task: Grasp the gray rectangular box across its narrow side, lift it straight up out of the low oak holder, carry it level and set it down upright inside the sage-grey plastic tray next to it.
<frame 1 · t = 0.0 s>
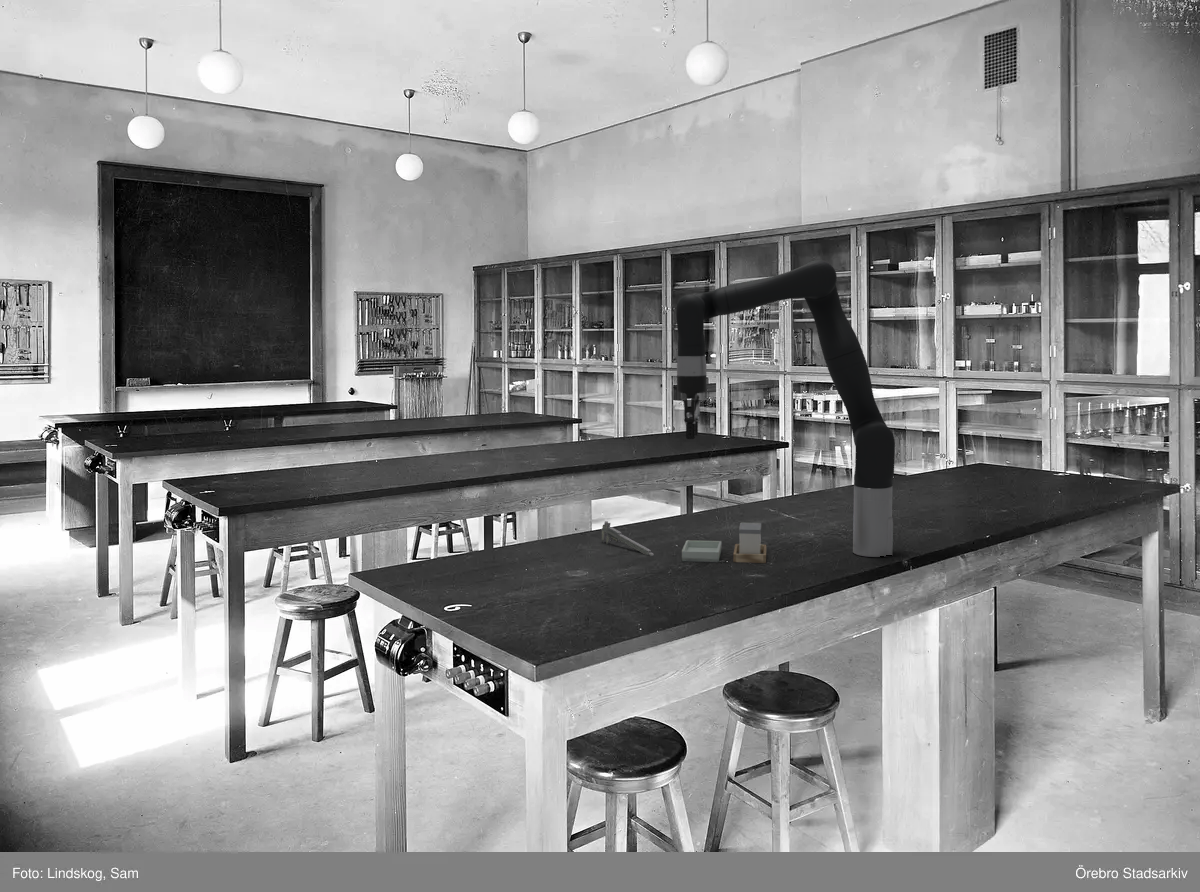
hand: (692, 437, 235), 29 cm above the table, fingers open, 8 cm apart
tray: (702, 555, 231), on the table
holder: (750, 557, 229), on the table
gray rectangular box: (750, 541, 228), in the holder
caliper: (627, 550, 240), on the table
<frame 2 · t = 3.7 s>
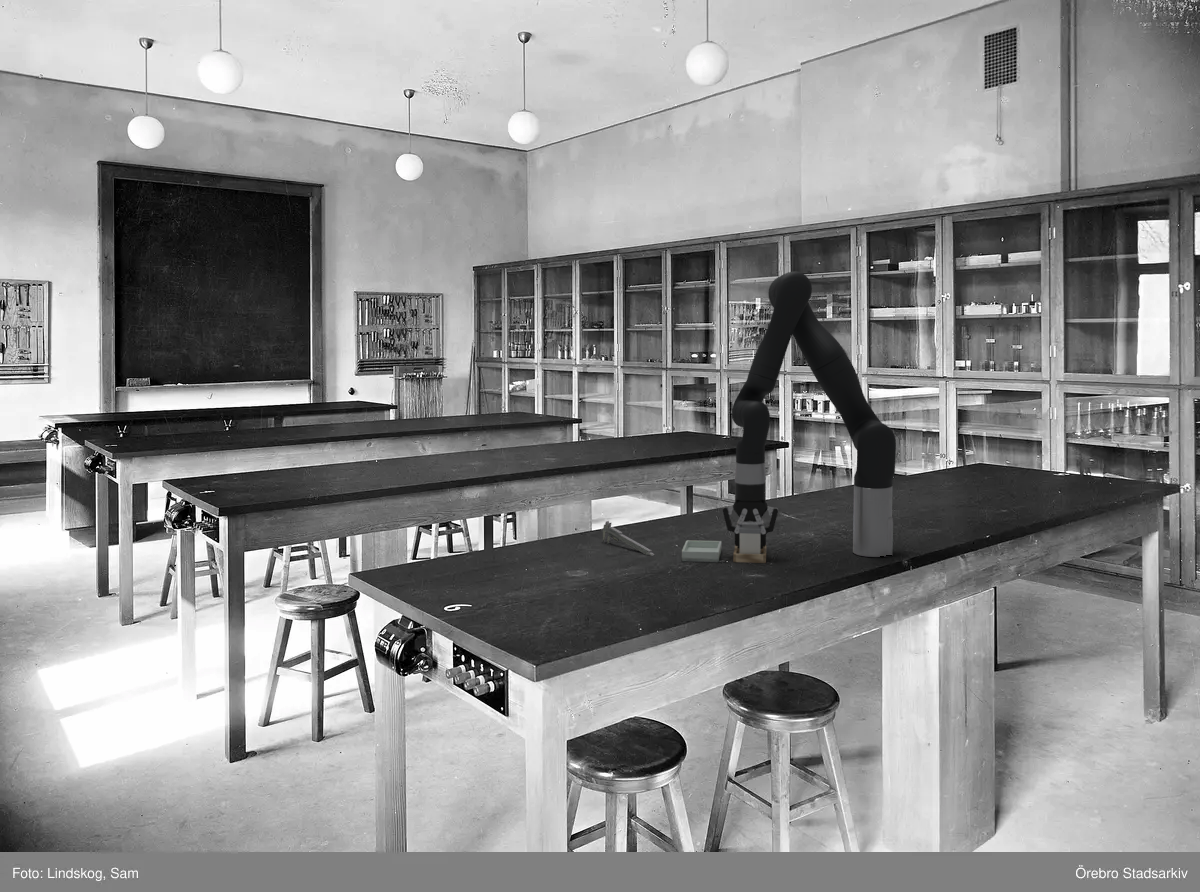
hand: (750, 547, 228), 2 cm above the table, fingers closed on gray rectangular box, 5 cm apart
gray rectangular box: (750, 541, 228), in the holder, touching gripper
everything else where it was.
when the fingers open (4 cm above the table, at t = 11.0 s): gray rectangular box drops 1 cm, resting on tray.
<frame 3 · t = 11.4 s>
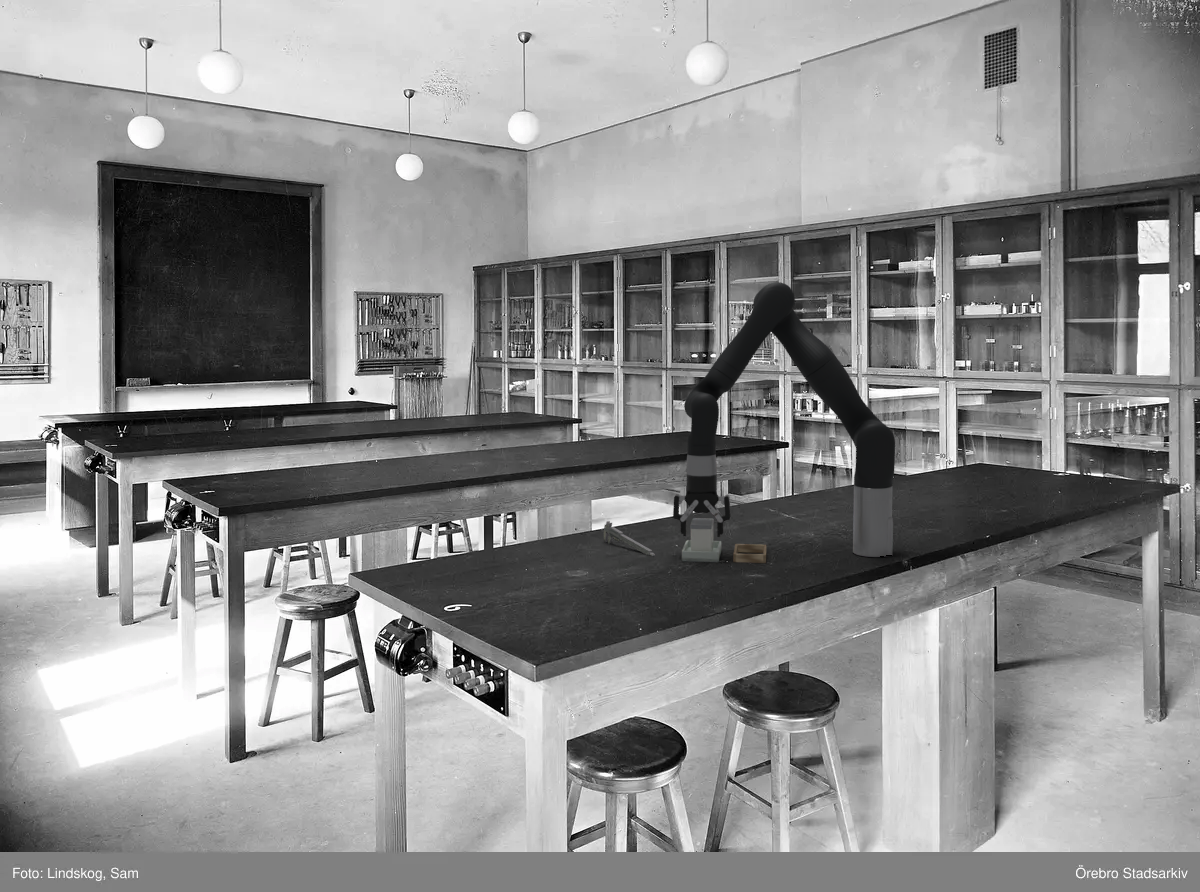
hand: (701, 536, 230), 5 cm above the table, fingers open, 8 cm apart
gray rectangular box: (702, 537, 230), in the tray, point 5 cm above the table
everything else where it was.
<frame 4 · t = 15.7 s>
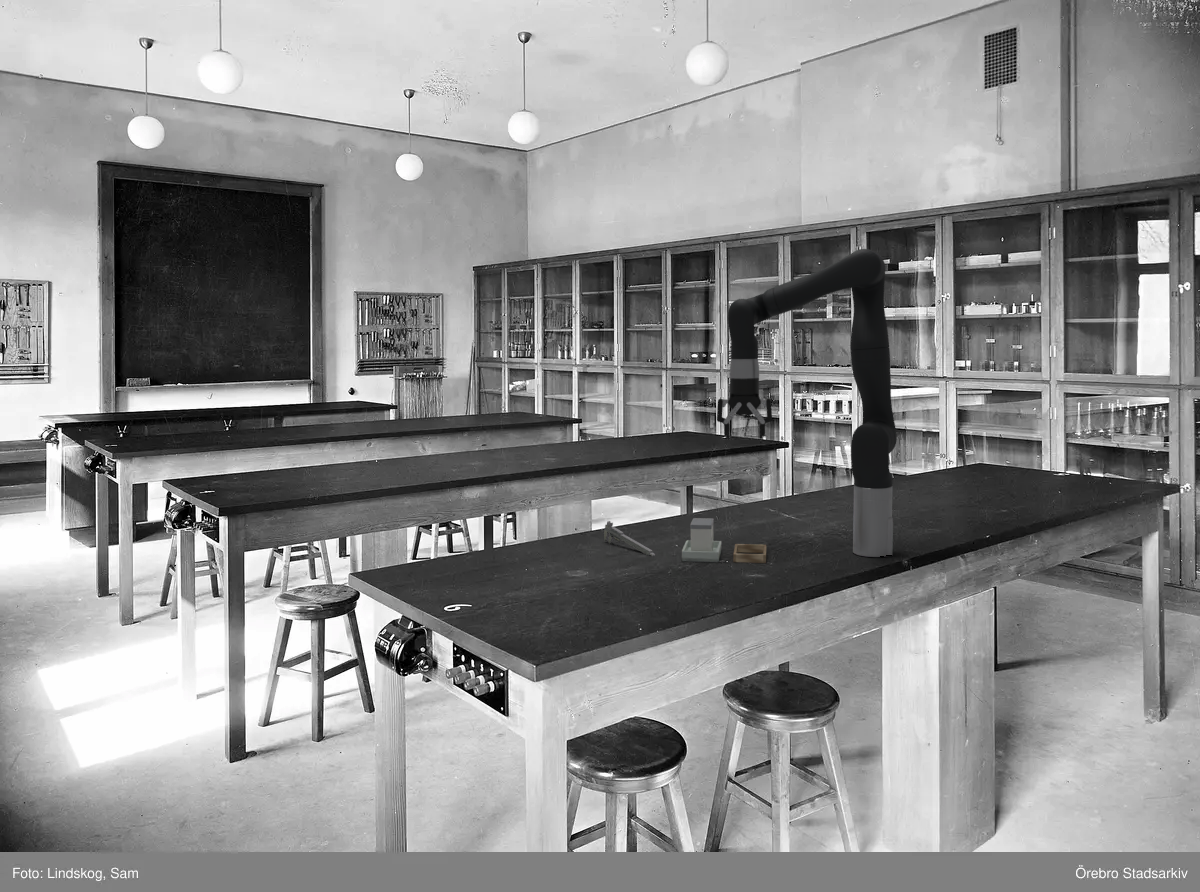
hand: (744, 438, 241), 28 cm above the table, fingers open, 8 cm apart
nothing on the table moved.
at the end: gray rectangular box 0.1 cm off-centre on the tray, point 4.8 cm above the tray's base; gray rectangular box tilted 0°; the gripper is holding nothing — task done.
